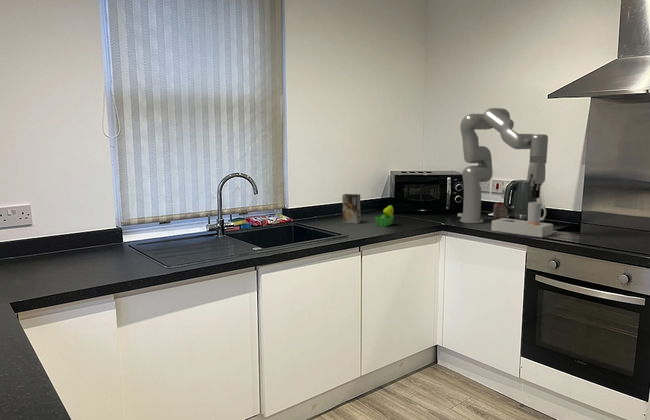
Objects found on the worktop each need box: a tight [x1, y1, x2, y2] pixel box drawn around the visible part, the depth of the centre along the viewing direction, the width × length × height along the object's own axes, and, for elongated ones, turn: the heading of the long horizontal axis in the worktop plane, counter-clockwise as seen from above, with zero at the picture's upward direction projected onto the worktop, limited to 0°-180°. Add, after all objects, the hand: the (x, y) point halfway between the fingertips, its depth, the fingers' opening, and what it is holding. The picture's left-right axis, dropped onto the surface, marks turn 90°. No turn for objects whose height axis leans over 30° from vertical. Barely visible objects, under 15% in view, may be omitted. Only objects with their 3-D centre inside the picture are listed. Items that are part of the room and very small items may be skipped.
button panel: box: [490, 217, 554, 238], centre depth 247 cm, size 26×12×5 cm, turn 43°
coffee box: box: [341, 193, 361, 225], centre depth 278 cm, size 9×6×16 cm
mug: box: [527, 201, 547, 223], centre depth 267 cm, size 10×7×12 cm, turn 37°
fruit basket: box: [374, 204, 395, 228], centre depth 269 cm, size 11×9×11 cm
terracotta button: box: [529, 221, 541, 225], centre depth 242 cm, size 5×5×5 cm
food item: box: [492, 201, 509, 220], centre depth 290 cm, size 14×8×10 cm, turn 169°
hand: (535, 197), depth 241 cm, fingers closed
